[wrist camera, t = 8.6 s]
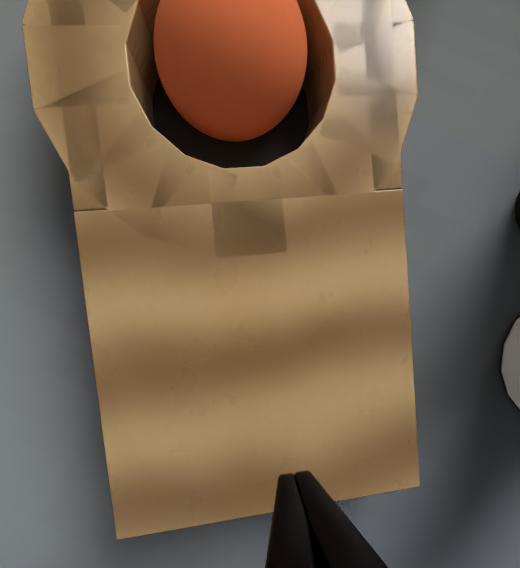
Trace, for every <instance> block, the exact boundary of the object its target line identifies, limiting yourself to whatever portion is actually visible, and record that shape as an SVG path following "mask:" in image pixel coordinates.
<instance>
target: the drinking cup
mask: <svg viewBox="0 0 520 568" xmlns="http://www.w3.org/2000/svg"><path fill="white" fill-rule="evenodd" d="M516 217H517V221H518V224H519V227H520V194H519V196H518V199H517V204H516Z"/></svg>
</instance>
